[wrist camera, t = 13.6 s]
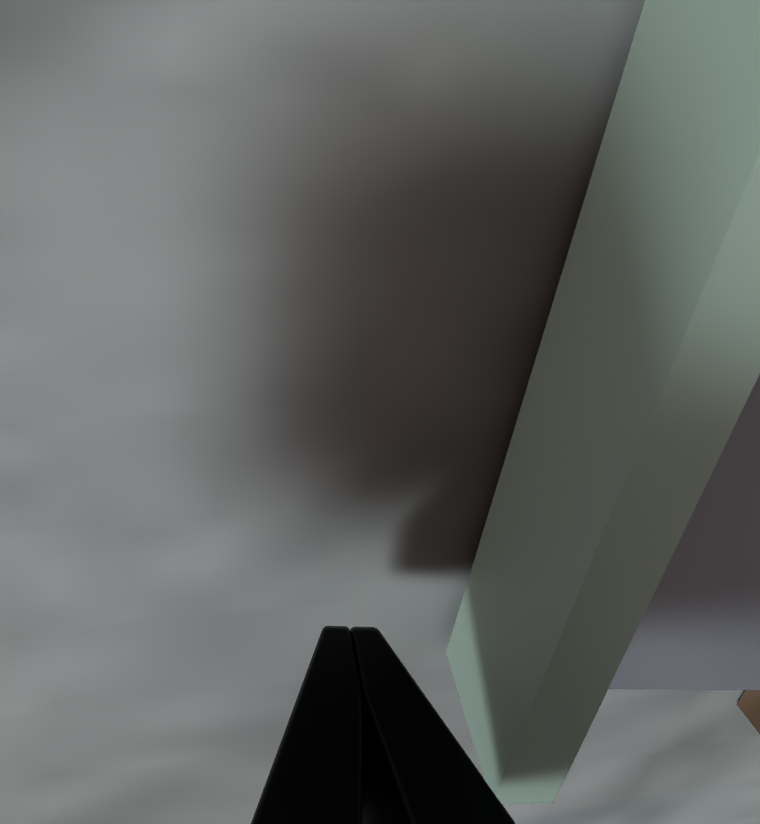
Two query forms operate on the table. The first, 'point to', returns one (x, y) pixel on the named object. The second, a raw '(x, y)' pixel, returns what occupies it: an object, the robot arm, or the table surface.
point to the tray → (633, 423)
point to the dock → (751, 706)
